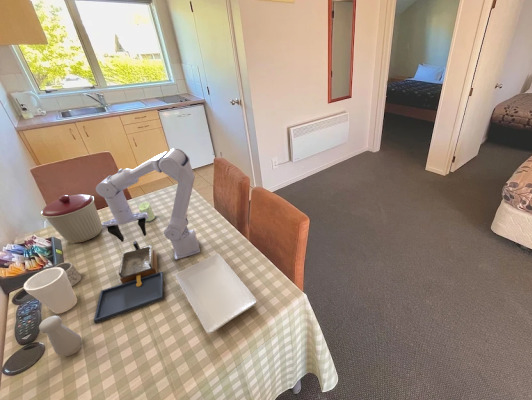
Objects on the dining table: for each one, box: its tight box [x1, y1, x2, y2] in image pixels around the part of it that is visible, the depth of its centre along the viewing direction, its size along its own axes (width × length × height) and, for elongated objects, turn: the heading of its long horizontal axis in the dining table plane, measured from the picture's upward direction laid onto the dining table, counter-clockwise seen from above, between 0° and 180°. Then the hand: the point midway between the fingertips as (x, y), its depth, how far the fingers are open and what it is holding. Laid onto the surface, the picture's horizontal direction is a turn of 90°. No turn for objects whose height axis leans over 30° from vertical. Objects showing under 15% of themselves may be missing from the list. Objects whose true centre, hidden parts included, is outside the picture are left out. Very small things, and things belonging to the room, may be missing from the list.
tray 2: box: [174, 252, 258, 335], centre depth 92 cm, size 17×31×4 cm, turn 42°
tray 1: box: [93, 271, 165, 324], centre depth 92 cm, size 19×13×1 cm
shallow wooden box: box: [119, 249, 158, 284], centre depth 102 cm, size 11×12×3 cm
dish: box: [118, 240, 155, 278], centre depth 101 cm, size 10×14×5 cm
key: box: [136, 275, 142, 287], centre depth 96 cm, size 4×2×1 cm, turn 28°
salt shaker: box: [38, 315, 83, 357], centre depth 73 cm, size 6×6×13 cm
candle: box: [138, 201, 156, 222], centre depth 131 cm, size 5×5×8 cm
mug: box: [54, 261, 82, 287], centre depth 96 cm, size 10×7×7 cm, turn 134°
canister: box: [39, 194, 103, 244], centre depth 117 cm, size 18×18×21 cm
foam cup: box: [23, 266, 78, 315], centre depth 86 cm, size 10×9×13 cm
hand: (134, 237), depth 105 cm, fingers open, 7 cm apart
